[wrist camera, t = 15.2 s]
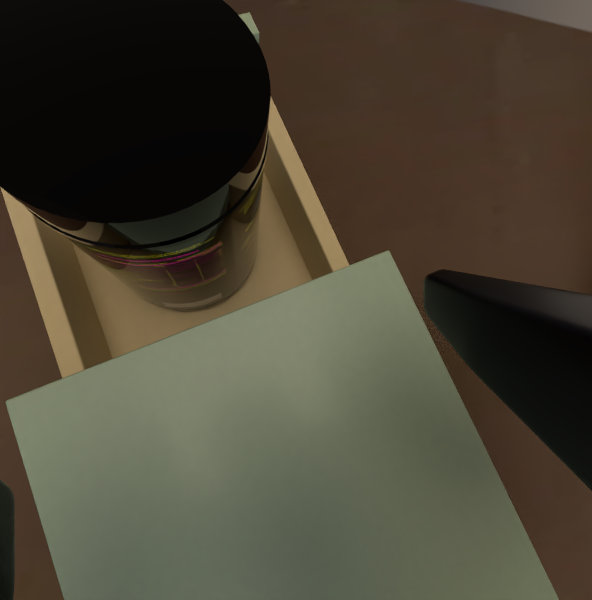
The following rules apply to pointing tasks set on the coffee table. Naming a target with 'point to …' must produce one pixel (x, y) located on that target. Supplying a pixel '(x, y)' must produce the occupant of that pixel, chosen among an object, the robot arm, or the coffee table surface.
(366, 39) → the coffee table surface
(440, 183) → the coffee table surface
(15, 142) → the supplement container
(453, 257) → the coffee table surface
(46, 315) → the drawer
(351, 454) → the cabinet
